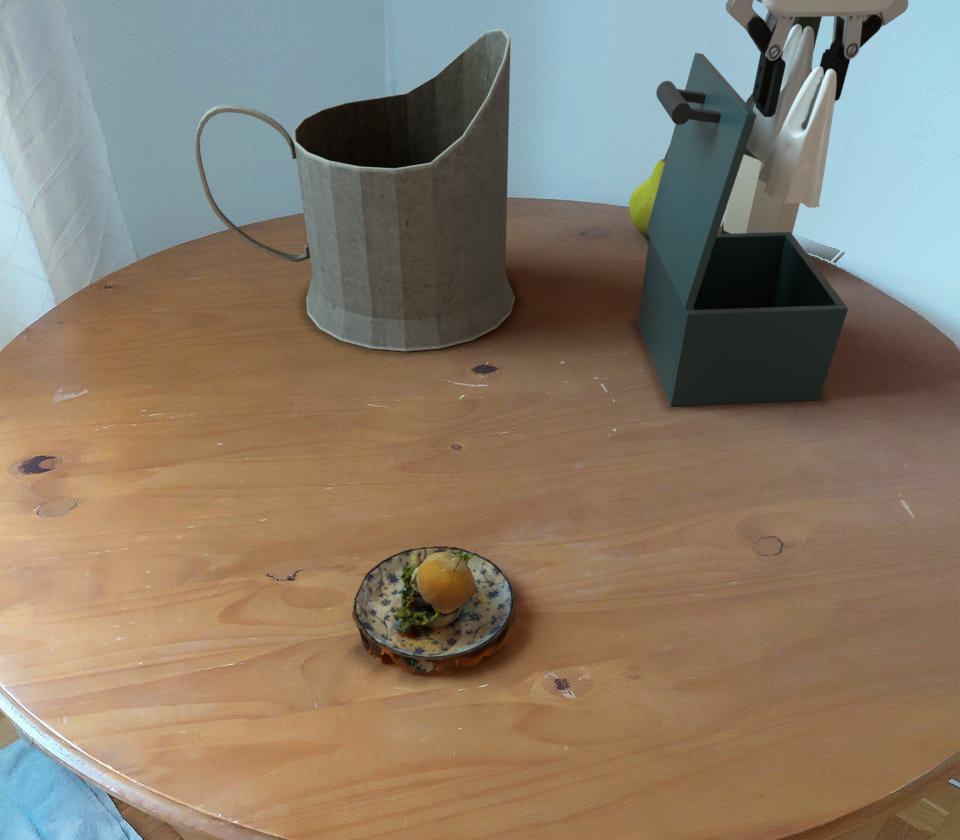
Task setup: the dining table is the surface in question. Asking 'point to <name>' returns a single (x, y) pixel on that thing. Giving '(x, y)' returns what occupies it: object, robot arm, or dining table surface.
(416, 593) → the burger
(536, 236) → the dining table surface
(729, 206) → the wine bottle
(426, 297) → the pitcher
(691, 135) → the lid
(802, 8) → the robot arm
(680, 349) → the chest
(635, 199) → the fruit
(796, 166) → the shaker set
